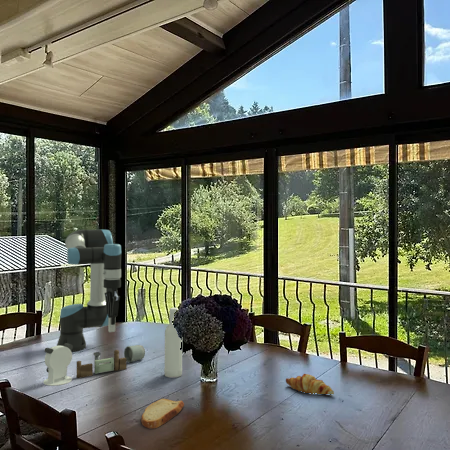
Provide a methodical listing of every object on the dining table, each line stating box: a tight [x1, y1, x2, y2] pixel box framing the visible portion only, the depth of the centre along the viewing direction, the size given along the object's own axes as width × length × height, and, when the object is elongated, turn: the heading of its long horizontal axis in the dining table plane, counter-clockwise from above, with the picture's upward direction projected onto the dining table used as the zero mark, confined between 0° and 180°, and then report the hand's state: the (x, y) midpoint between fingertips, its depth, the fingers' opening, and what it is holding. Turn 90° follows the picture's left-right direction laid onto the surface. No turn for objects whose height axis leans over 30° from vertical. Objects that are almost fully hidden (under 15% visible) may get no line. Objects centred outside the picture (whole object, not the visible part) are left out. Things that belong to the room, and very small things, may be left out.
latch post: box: [93, 351, 101, 361], centre depth 202 cm, size 2×2×9 cm
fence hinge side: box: [113, 349, 127, 372], centre depth 206 cm, size 2×6×10 cm, turn 125°
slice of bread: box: [140, 398, 185, 429], centre depth 158 cm, size 18×18×4 cm
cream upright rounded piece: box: [43, 343, 73, 387], centre depth 191 cm, size 12×11×15 cm
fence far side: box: [76, 360, 94, 379], centre depth 197 cm, size 2×7×7 cm, turn 124°
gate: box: [93, 356, 114, 375], centre depth 202 cm, size 8×2×6 cm, turn 125°
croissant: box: [285, 373, 335, 395], centre depth 182 cm, size 21×10×8 cm, turn 56°
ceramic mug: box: [123, 344, 146, 363], centre depth 222 cm, size 11×8×8 cm
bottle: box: [163, 307, 183, 379], centre depth 200 cm, size 8×8×30 cm
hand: (111, 331), depth 198 cm, fingers closed
